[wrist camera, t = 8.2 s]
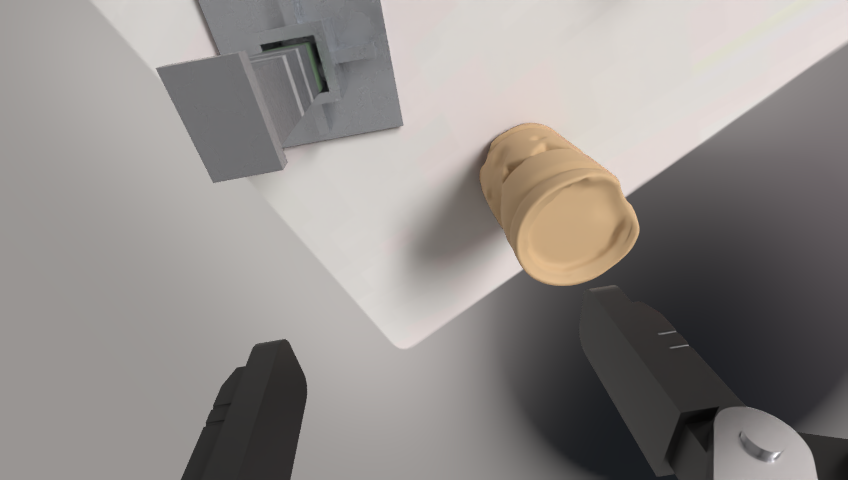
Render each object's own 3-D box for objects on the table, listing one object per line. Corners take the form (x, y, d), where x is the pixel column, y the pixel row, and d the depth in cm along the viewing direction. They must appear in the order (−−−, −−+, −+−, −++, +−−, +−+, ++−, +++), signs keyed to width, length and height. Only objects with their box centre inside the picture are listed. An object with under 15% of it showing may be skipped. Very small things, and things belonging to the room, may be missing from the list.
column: (264, 37, 35) (155, 68, 18) (307, 29, 34) (237, 52, 18) (287, 103, 38) (213, 182, 21) (326, 96, 38) (283, 169, 21)
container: (520, 102, 47) (586, 149, 32) (584, 156, 52) (668, 219, 37) (458, 179, 52) (489, 252, 37) (522, 223, 57) (573, 303, 42)
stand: (192, -23, 38) (143, -30, 30) (369, -57, 38) (366, -72, 30) (262, 149, 47) (238, 178, 40) (402, 123, 47) (407, 146, 39)
